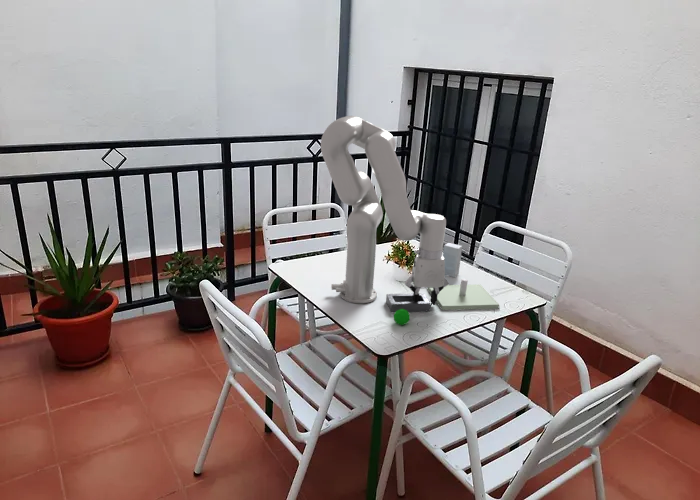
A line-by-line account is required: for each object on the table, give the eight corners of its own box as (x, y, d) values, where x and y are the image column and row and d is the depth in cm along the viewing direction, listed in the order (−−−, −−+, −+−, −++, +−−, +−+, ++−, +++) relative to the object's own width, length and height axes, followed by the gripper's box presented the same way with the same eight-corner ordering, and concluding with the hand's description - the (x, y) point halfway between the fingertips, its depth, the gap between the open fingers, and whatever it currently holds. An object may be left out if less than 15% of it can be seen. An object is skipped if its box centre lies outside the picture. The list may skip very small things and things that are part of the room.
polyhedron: (408, 320, 155) (409, 306, 153) (410, 327, 150) (411, 314, 149) (392, 319, 155) (393, 306, 153) (394, 327, 150) (395, 313, 148)
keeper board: (442, 310, 162) (444, 290, 160) (427, 289, 177) (429, 271, 175) (498, 308, 166) (501, 289, 163) (479, 288, 181) (482, 270, 178)
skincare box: (458, 274, 192) (462, 245, 187) (454, 278, 188) (458, 248, 184) (444, 270, 195) (447, 242, 190) (440, 274, 191) (443, 245, 187)
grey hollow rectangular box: (391, 312, 159) (391, 304, 158) (385, 302, 166) (386, 294, 165) (429, 311, 161) (430, 303, 160) (422, 301, 168) (423, 293, 167)
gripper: (407, 257, 153) (402, 309, 159) (459, 256, 156) (452, 308, 162) (401, 248, 160) (396, 299, 166) (451, 248, 162) (445, 297, 169)
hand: (424, 302), depth 164 cm, fingers open, 5 cm apart
